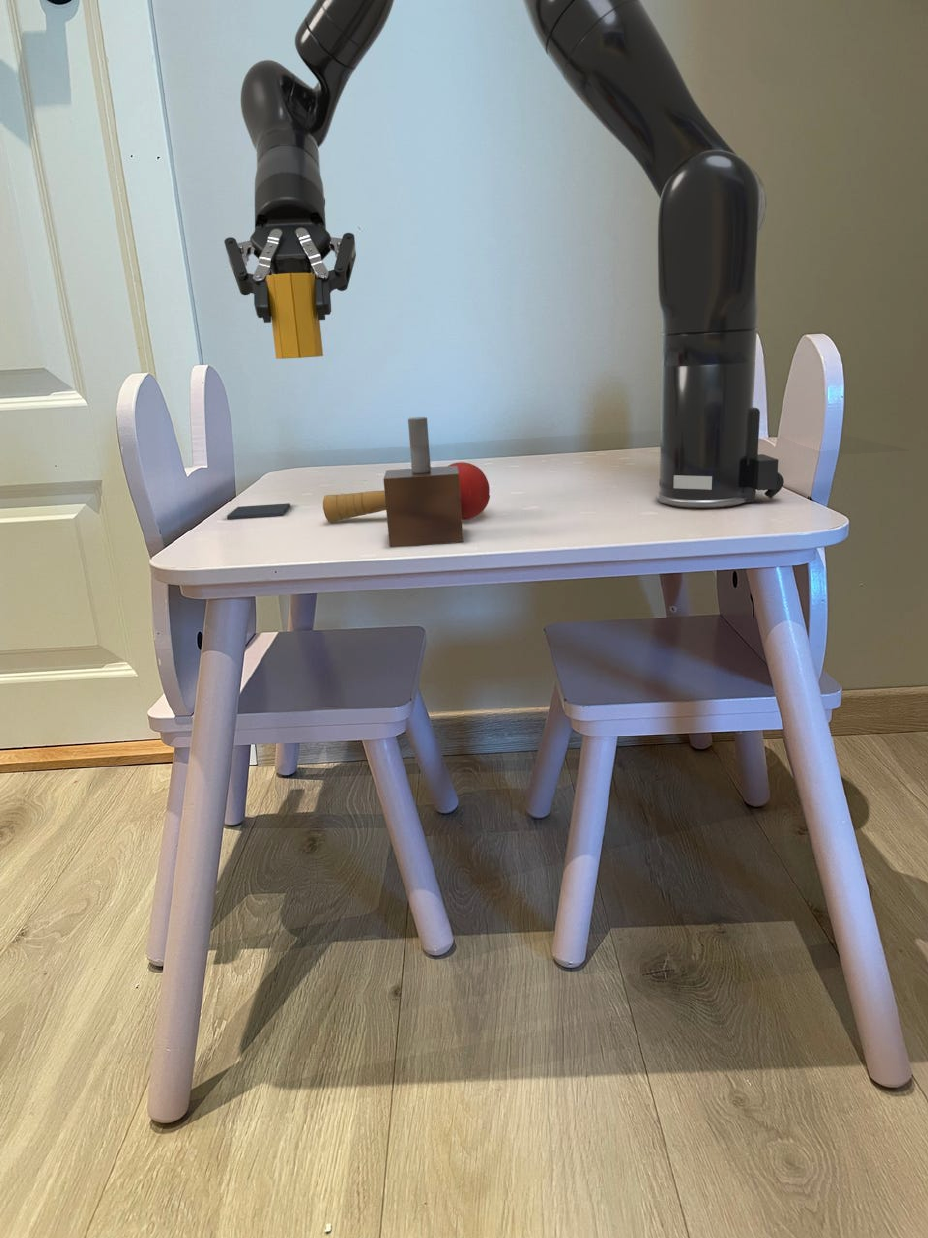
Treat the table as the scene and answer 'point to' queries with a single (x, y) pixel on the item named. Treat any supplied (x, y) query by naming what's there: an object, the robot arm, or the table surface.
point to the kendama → (359, 504)
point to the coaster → (259, 511)
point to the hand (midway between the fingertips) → (293, 314)
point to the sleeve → (294, 315)
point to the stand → (422, 497)
